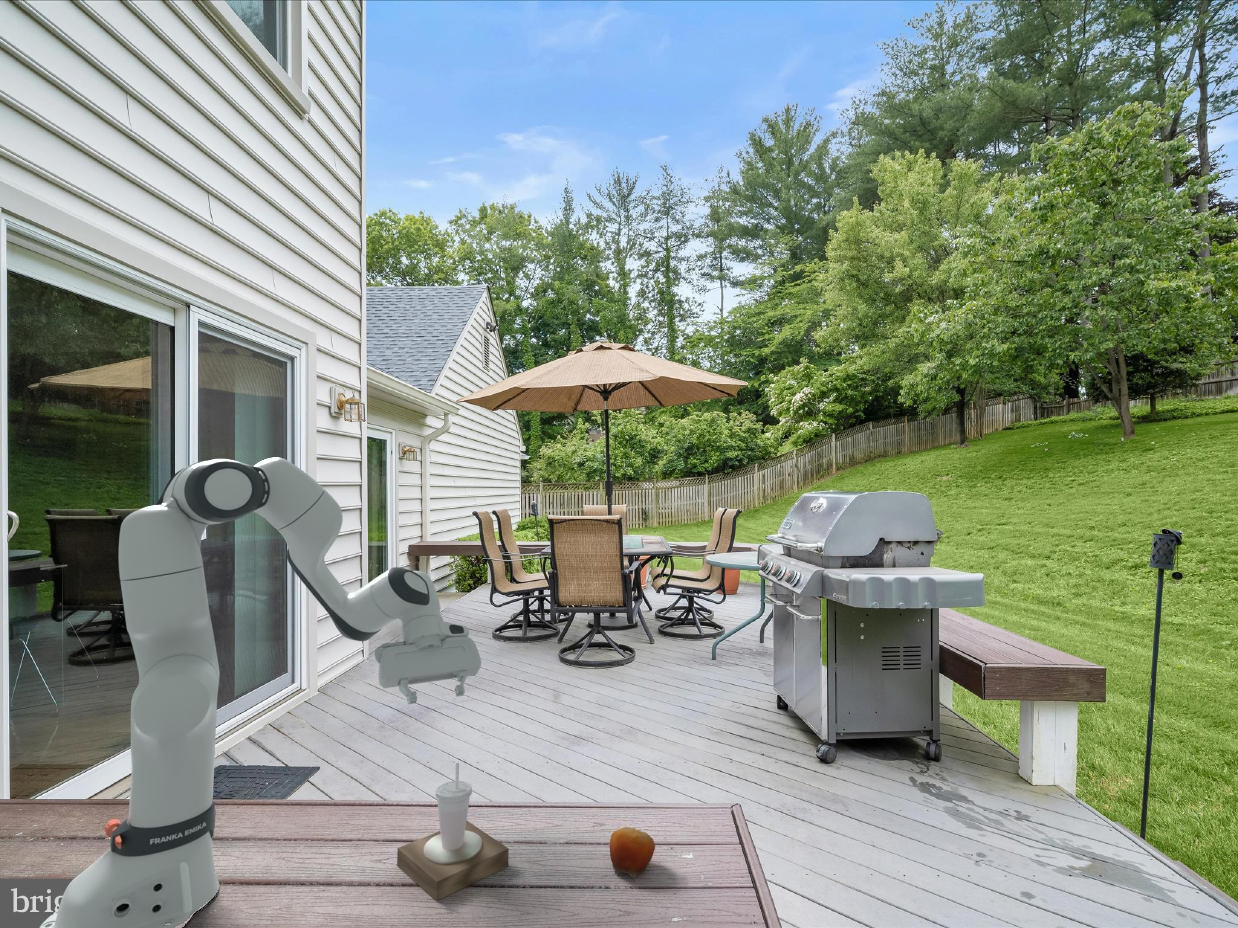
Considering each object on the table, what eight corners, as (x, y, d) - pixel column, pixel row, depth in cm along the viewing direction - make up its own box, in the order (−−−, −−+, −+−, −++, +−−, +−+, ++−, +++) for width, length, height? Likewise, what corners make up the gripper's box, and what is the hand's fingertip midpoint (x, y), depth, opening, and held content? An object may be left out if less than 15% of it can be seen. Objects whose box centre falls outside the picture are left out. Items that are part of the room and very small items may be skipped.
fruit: (597, 873, 105) (607, 820, 109) (611, 876, 111) (619, 826, 115) (642, 884, 102) (650, 829, 106) (654, 886, 108) (661, 834, 112)
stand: (436, 900, 99) (436, 877, 100) (397, 865, 109) (397, 844, 110) (508, 865, 109) (508, 844, 110) (466, 836, 119) (466, 816, 119)
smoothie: (461, 856, 106) (463, 772, 107) (426, 851, 107) (429, 769, 108) (476, 836, 112) (478, 757, 113) (444, 832, 113) (446, 754, 114)
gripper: (376, 635, 123) (384, 698, 114) (475, 625, 134) (490, 682, 125) (371, 653, 127) (379, 715, 118) (468, 642, 138) (482, 698, 129)
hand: (437, 698), depth 122 cm, fingers open, 8 cm apart
